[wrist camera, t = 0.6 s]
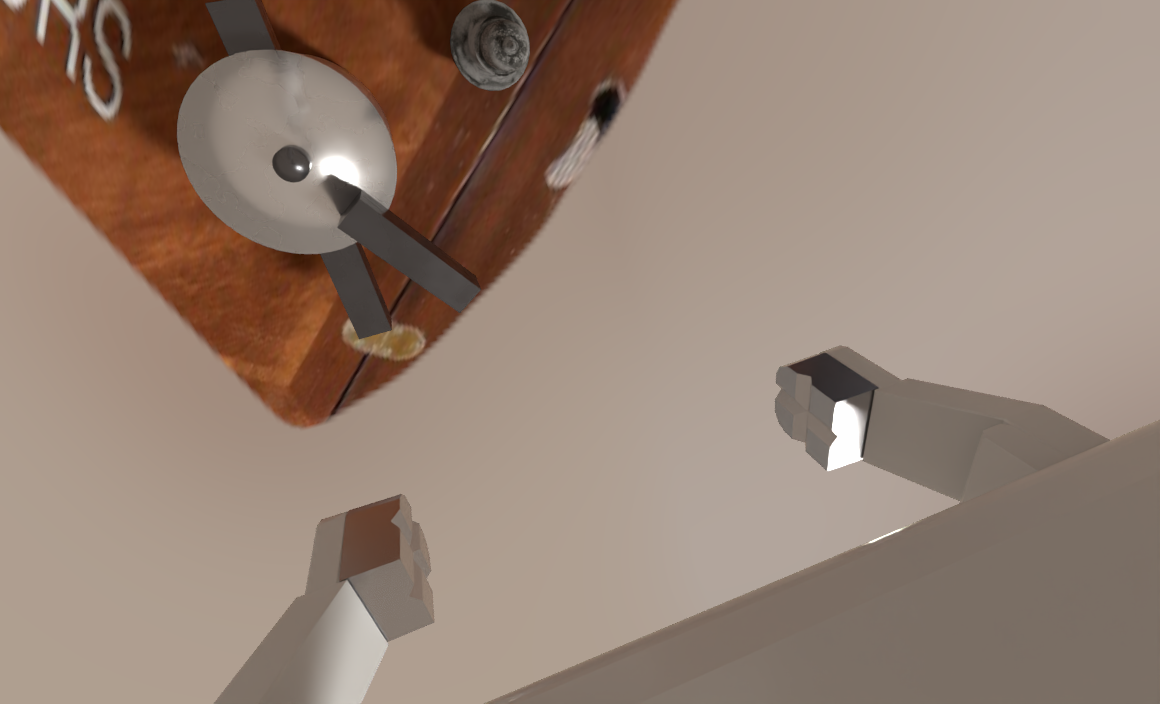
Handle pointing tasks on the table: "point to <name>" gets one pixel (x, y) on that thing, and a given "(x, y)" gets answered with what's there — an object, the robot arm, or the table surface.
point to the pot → (349, 267)
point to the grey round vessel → (489, 45)
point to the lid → (304, 165)
